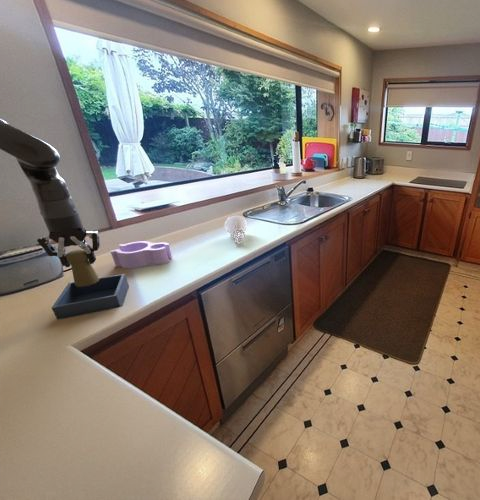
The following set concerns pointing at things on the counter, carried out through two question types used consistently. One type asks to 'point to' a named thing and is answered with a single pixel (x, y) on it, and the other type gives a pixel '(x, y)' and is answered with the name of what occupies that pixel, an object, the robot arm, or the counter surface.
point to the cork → (81, 268)
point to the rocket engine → (236, 228)
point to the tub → (91, 297)
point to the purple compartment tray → (141, 254)
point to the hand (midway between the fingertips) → (80, 264)
